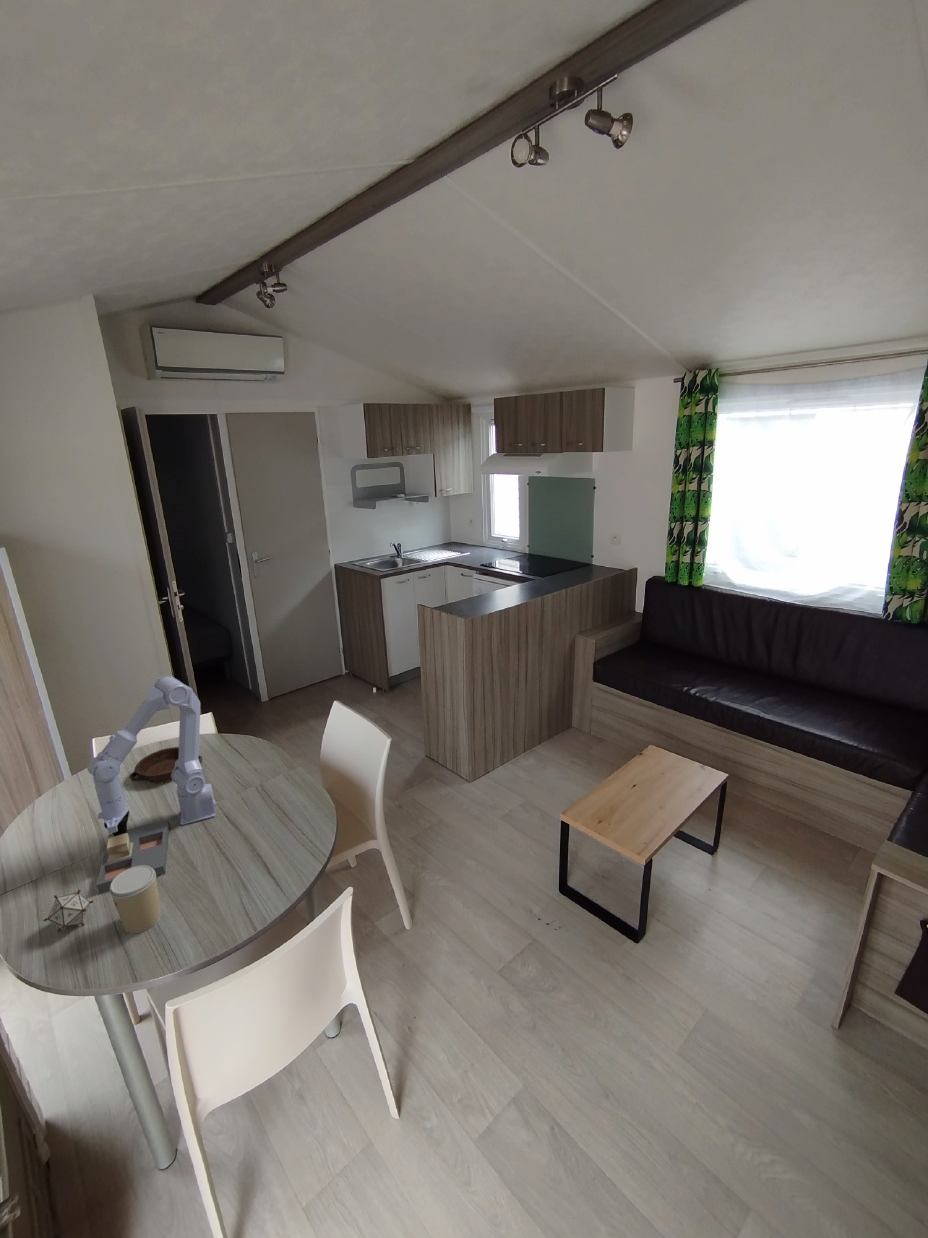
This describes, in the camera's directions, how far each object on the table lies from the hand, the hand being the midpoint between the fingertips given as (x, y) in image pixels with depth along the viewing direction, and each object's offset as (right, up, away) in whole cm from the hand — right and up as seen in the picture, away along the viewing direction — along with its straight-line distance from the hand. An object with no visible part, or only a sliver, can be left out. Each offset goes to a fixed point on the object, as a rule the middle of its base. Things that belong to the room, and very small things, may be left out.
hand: (122, 839), depth 155 cm
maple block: (+2, -2, -4) cm, 5 cm away
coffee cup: (+19, -10, -23) cm, 31 cm away
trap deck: (+5, -4, -2) cm, 7 cm away
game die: (+3, -11, -23) cm, 26 cm away
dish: (-7, +8, +37) cm, 39 cm away
